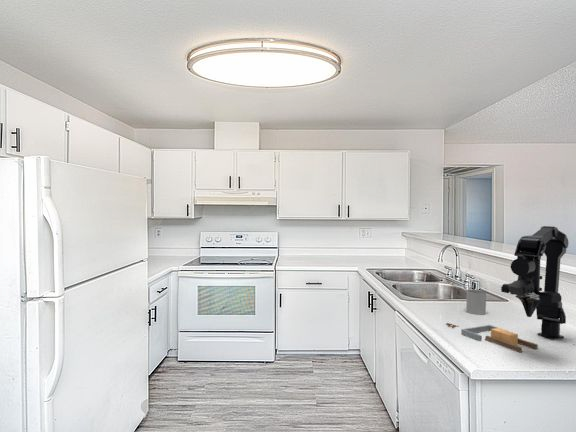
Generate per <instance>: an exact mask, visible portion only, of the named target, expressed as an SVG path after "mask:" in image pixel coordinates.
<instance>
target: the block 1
mask: <svg viewBox="0 0 576 432" xmlns="http://www.w3.org/2000/svg"><path fill="white" fill-rule="evenodd" d="M500 328H501V327H498V328H495V329H491V331H490V337H493V338H496V339H499V340H500V334H501V332H505V331H506V330H507V329H504V330H503V328H501V329H500Z"/></svg>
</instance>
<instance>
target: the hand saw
mask: <svg viewBox="0 0 576 432" xmlns="http://www.w3.org/2000/svg"><path fill="white" fill-rule="evenodd" d="M445 325H446V326H447V328H451V327H452V328H451V329H455V328H456V327H458V328H459V327H460V326H459V325H455V324H452V323H448V322H446V323H445Z"/></svg>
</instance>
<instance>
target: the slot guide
mask: <svg viewBox="0 0 576 432" xmlns="http://www.w3.org/2000/svg"><path fill="white" fill-rule="evenodd" d="M484 340H485V341H487V342H490V343H492V344H494V345H498V346H501V347H504V348H506V349H509V350H511V351H515V352H517V353H522V352H523V347H522V346H525V347H527V348H531V349H533V350H537V349H538V344H536V343H533V342H531V341H527V340H524V339H522V338H519V337H518V343H517V345H513V344H510V343H507V342H504V341H501V340H499V339H496V338H493V337H491V335H490V336H489V335H485V339H484ZM518 344H519V345H522V346H518Z"/></svg>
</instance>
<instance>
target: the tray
mask: <svg viewBox="0 0 576 432" xmlns="http://www.w3.org/2000/svg"><path fill="white" fill-rule="evenodd" d="M495 328H500V329H503V328H501V327H498V326H494V325H492V324H487V325H485V324H484V325H480V326H474V327H467V328H462V329H461V330H460V334H461V335H462V336H465V337H468V338H471V339H473V340H475V341H479V342H482V339H483V338H482V336H483V335H481V334H478V333H482V332H487V331H488V332H489V331H490V332H491V329H495ZM503 330H506V331H508V330H507V329H503Z"/></svg>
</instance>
